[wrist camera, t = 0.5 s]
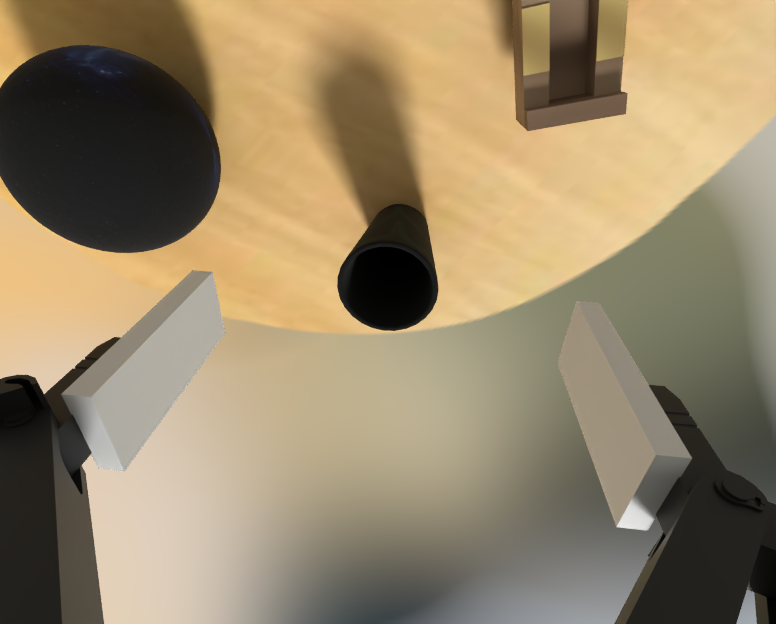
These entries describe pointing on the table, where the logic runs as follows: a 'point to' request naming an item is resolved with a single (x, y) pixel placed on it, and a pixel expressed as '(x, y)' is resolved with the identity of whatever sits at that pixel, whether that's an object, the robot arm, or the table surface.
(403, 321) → the cup
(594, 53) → the beam
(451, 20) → the table surface
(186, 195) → the decorative sphere
